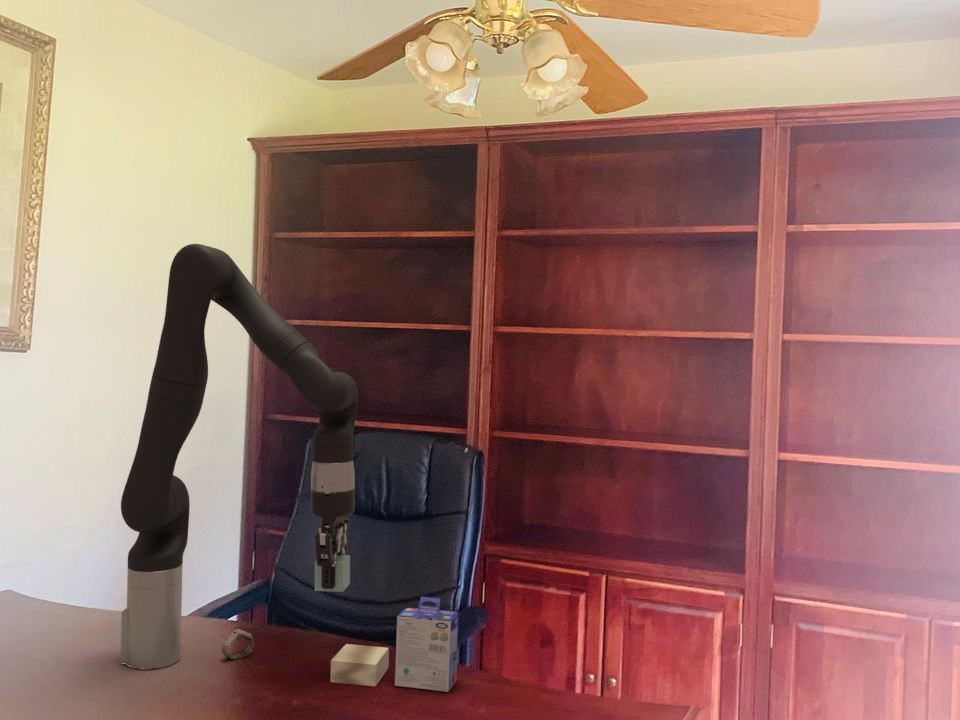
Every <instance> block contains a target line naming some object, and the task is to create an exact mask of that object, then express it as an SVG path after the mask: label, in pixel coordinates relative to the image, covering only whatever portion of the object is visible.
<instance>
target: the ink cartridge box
mask: <svg viewBox="0 0 960 720" xmlns="http://www.w3.org/2000/svg"><path fill="white" fill-rule="evenodd" d="M427 602H432V603H434V604H435V606H429V605H423V603H427ZM440 606H441V598H439V597H431V596H430V597H428V596H420V600H419V603H418V608H413V607H412V608H411V607H406V608H404V609H403V610H402V611H401V612H400V613H399V614H398V615H397V616H396V637H395V638H396V639H395V640H396V641H395V671H394V672H395V673H394V686H395V687H402V688H403V687H404V688H411V689H422V690H429V691H438V692H446V693H448V692H450V690H451V689H452V688H453V687H454V686H455V684H456V682H457V671H458V669H457V665H458V664H457V663H458V635H459V612H458V611H451V610H450V611H449V610H440Z"/></svg>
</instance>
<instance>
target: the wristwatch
mask: <svg viewBox="0 0 960 720" xmlns="http://www.w3.org/2000/svg"><path fill="white" fill-rule="evenodd" d="M238 636H240V637H242V638H244V639H245V640H246V642H247V643H246V644H247V645H246V646H247V647H246V649H245V650H244V651H242V652H236V653H229V652H228V651H229V647H230V645H232V643H233V642H234V641H235V640H236V638H238ZM254 647H255V645H254V637H253V635H252V634H251V633H249V632H247V631H244V630H242V629H239V628H236V629H233V630H232V631H231V633H230V635H229V636H228V638H227V639H226V640H225V641H224V642H223V644H222V647H221V652H222V655H224V656H225V658H229V659H230V660H238V659H242V658H244V657H247V656H249V655H250V654H251V653H252V651H253V649H254Z"/></svg>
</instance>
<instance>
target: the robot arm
mask: <svg viewBox="0 0 960 720" xmlns="http://www.w3.org/2000/svg"><path fill="white" fill-rule="evenodd" d="M169 268H170V269H169V276H168V283H167V294H166V295H167V296H166V302H165V303H166V306H165V312H164V320H163V325H162V330H161V334H160V339H159V342H158V343H159V344H158V348H157V354H156V358H155V359H156V360H155V363H154V367H153V371H152V375H151V378H150V384H149V389H148V392H147V393H148V395H147V400H146V406H145V411H144V415H143V420H142V424H141V429H140V434H139V439H138V442H137V448H136V452H135V455H134V458H133V462H132V464H131V467H130V471H129V473H128V476H127V480H126V482H125V486H124V489H123V492H122V495H121V500H120V512H121V517H122V519H123V521H124V523H125V524H126V525H127V527H129V528H130V529H131V530H132V531H134V532H137V533H138V535H137V538H136V540H135V542H134V544H133V545H132V546H131V548H130V550H129V551H128V554H127V574H126V575H127V580H126V583H127V585H126V587H127V588H126V608H125V609H123V610H121V621H120V623H121V626H120V627H121V630H120V664H121V663H126V664H128V665H130V666H132V667H135V668H145V669H144V670H152V669H151V668H156V669H161V668H165V667H168V666H171V665H174V664H176V663H177V662H178V661H179V660H180V659H181V652H182V651H181V650H182V643H181V642H182V605H183V604H182V602H183V601H182V600H183V599H182V598H183V562H184V560H183V559H184V553H185V550H186V548H187V545H188V539H189V525H190V523H189V521H190V503H191V502H190V494H189V491H188V488H187V486H186V484H185V482H184V481H183V480H182V479H181V478H179V477H178V476H176V475H174V473H175V472H174V471H175V467H176V463H177V460H178V457H179V455H180V451H181V450H182V447H183V446H184V444H185V442H186V441H187V439H188V436H189V435H190V434H191V433H190V432H191V431H192V430H193V428H194V425H195V423H196V422H197V420H198V417H199V415H200V413H201V411H202V407H203V403H204V398H205V394H206V389H207V384H208V378H209V362H208V361H209V360H208V354H207V348H206V339H205V338H206V337H205V336H206V335H205V328H206V322H207V317H208V313H209V308H210V306H211V305H210V304H211V301H212V302H214V303H216V304H217V305H219V307H222V308H223V309H224V310H226V311H227V312H228V313H230V314H231V315H232V316H233V317H234V318H235V320H236V321H238V322H239V324H240V325H242V327H243V329H244V330H245V332H246V333H247V335H248V336H249V338H250V339H251V340H252V342H253V344H254V345H255V346H256V347H257V348H258V349H259V351H260V352H261V354H263V355H264V356H265V357H266V358H267V359H268V361H270V362H271V363H272V364H273V365H274V366H275V367H276V368H277V369H278V370H279V371H280V372H281V373H283V374H284V375H285V376H286V377H287V378H288V379H289V380H290V382H291V383H292V385H293V386H294V388H295V389H296V390H297V391H298V393H299V394H300V396H301V397H302V398H303V400H304V401H306V403H308V404H309V405H310V406H311V407H312V408H313V409H315V410H316V411H318V412H319V420H318V425H317V427H316V429H315V430H314V432H313V436H312V464H311V471H310V472H311V473H310V513H311V514H312V515H313V516H316V517H320V518H321V523H320V524H321V525H319V527H318V532H316V533H315V535H314V538H315V551H316V553H315V554H316V560H317V566H320V567H322V588H323V589H333V588H334V587H335V565H336V555H346V552H347V551H348V540H349V539H348V538H349V523H350V520H349V517H348V516H350V515H352V514H354V512H355V508H356V507H355V505H356V504H355V503H356V502H355V501H356V500H355V498H356V497H355V493H356V492H355V491H356V490H355V483H356V481H355V479H356V478H355V464H354V430H355V426H356V425H355V424H356V420H357V412H358V403H359V391H358V387H357V384H356V382H355V380H354V378H353V377H352V376H351V375H349V374H347V373H345V372H343V371H333V370H332V369H331V368H330V367H328V365H326V363H325V362H324V361H322V360H321V359H320V356H319V355H320V354H319V352H318V350H317V349H316V348H315V346H314V345H313V344H312V343H311V342H310V341H308V339H307V338H306V337H304V336H303V335H302V333H300V332H299V331H298V330H297V329H296V328H295V327H293V325H292V324H290V323H289V322H288V321H287V320H286V319H285V318H284V317H283V316H282V315H281V314H279V312H278V311H276V310H275V308H274V307H272V306H271V305H270V304H269V302H267V300H266V299H265V298H264V297H263V296H262V295H261V294H260V293H259V292H258V290H257V289H256V288H255V286H253V284H252V283H251V282H250V281H249V280H248V278H247V276H246V275H245V274H244V273H243V272H242V269H240V268H239V266H238V265H237V264H236V262H235V261H234V260H233V258H231V256H230V255H229V254H228V253H227V252H225V251H224V250H221V249H220V248H216V247H214V246H213V247H212V246H209V245H204V244H200V243H190V244H188V245H185V246H183V247H181V248H180V249H179V250H178V251H177V253H176V254H175V256H174V257H173V259H172V261H171V265H170V267H169ZM346 516H347V517H346ZM325 555H328V559H325ZM135 668H134V669H135ZM146 668H147V669H146Z"/></svg>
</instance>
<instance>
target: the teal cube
mask: <svg viewBox="0 0 960 720" xmlns="http://www.w3.org/2000/svg"><path fill="white" fill-rule="evenodd" d="M325 559H328V555H327V554H325ZM350 584H351V555H347V554H345V555H336V565H335V587H334V588H333V589H323V588H322V567H320V566H317V559H316V560H315V561H314V592H338V593H339V592H340V593H342V592H344V591H345V590H346V589H347V588H348V587H349V586H350Z"/></svg>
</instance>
